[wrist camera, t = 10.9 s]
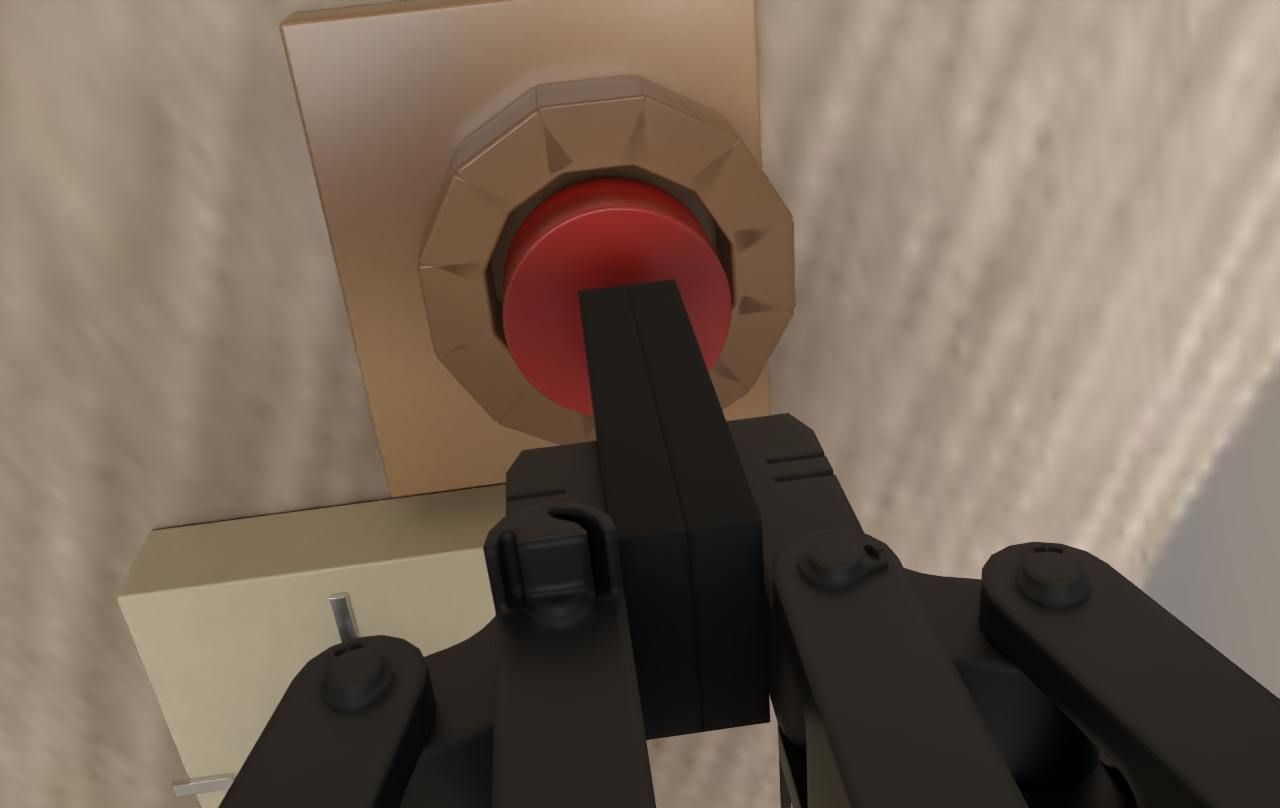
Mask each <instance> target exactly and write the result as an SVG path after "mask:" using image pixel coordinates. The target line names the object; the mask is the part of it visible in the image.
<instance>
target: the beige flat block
mask: <svg viewBox="0 0 1280 808" xmlns="http://www.w3.org/2000/svg"><path fill="white" fill-rule="evenodd" d="M504 517H506V484H502V485H495V486H487V487H480V488H472V489H464V490H457V491H449V492H442V493H434V494H427V495H419V496H411V497H404V498H396V499H389V500H381V501H373V502H366V503H358V504H351V505H343V506H336V507H328V508H320V509H313V510H305V511H298V512H290V513H283V514H275V515H267V516H260V517H252V518H245V519H237V520H229V521H222V522H214V523H207V524H199V525H192V526H184V527H176V528H169V529H161V530H154V531H151V532H150V534H149V535H148V537H147V539H146V541H145V543H144V545H143V547H142V549H141V551H140V553H139V555H138V557H137V559H136V561H135V563H134V565H133V566H132V568H131V570H130V572H129V574H128V576H127V578H126V580H125V582H124V584H123V586H122V588H121V590H120V592H119V594H118V596H117V601H118V603H119V606H120V608H121V611H122V613H123V616H124V618H125V621H126V623H127V626H128V628H129V630H130V633H131V635H132V638H133V640H134V643H135V645H136V648H137V650H138V653H139V655H140V658H141V660H142V663H143V665H144V668H145V670H146V673H147V675H148V678H149V680H150V683H151V685H152V688H153V690H154V693H155V695H156V698H157V700H158V702H159V705H160V707H161V710H162V712H163V715H164V717H165V720H166V722H167V725H168V727H169V730H170V732H171V735H172V737H173V740H174V742H175V745H176V747H177V750H178V752H179V755H180V757H181V760H182V762H183V765H184V767H185V770H186V772H187V774H188V777H189V779H188V780H181V781H174V782H173V783H172V786H171V787H172V790H173V792H174V795H175V797H180V796H187V795H194V794H196V797H197V799H198V802H199V804H200V807H201V808H218V807H219V805H220V803H221V802H222V800H223V798H224V797H225V795H226V793H227V791H228V790H229V788H230V786H231V785H232V783H233V781H234V779H235V778H236V776H237V774H238V773H239V771H240V769H241V767H242V766H243V764H244V762H245V761H246V759H247V757H248V755H249V754H250V752H251V750H252V749H253V747H254V745H255V743H256V742H257V740H258V738H259V737H260V735H261V733H262V731H263V730H264V728H265V726H266V725H267V723H268V721H269V719H270V718H271V716H272V714H273V713H274V711H275V709H276V707H277V706H278V704H279V702H280V701H281V699H282V697H283V695H284V694H285V692H286V690H287V689H288V687H289V685H290V683H291V682H292V680H293V679H294V677H295V676H296V675H297V674H298V673H299V672H300V670H301V669H302V668H303V667H304V666H305V665H306V663H307V662H308V661H309V660H311V659H313V658H314V657H316V656H317V655H319V654H320V653H322V652H323V651H325V650H326V649H328V648H329V647H331V646H334V645H337V644H340V643H342V642H345V641H348V640H351V639H353V638H357V637H366V636H375V635H385V636H391V637H397V638H402V639H405V640H406V641H408V642H410V643H411V644H413V645H414V646H416V647H417V648H419V649H420V651H421V653H422V655H423V657H425V656H428V655H430V654H433V653H436V652H438V651H441V650H444V649H446V648H449V647H451V646H454V645H456V644H458V643H460V642H462V641H464V640H466V639H468V638H470V637H471V636H473V635H474V634H476V633H477V632H479V631H480V630H481V629H483V628H484V627H485V626H486V625H487V624H488V623H489V622H490V621H491V620H492V619H493V618H494V617H495V615H496V612H495V607H494V602H493V597H492V592H491V586H490V581H489V576H488V571H487V566H486V561H485V556H484V550H483V546H484V543H485V540H486V538H487V535H488V532H489V531H490V530H491V529H492V528H493V527H494V526H495V525H496V524H497V523H498V522H499V521H500V520H501V519H502V518H504Z"/></svg>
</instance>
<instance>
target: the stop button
mask: <svg viewBox="0 0 1280 808" xmlns="http://www.w3.org/2000/svg"><path fill="white" fill-rule="evenodd" d="M671 279H675V280H676V283H677V286H678V288H679V291H680V294H681V297H682V300H683V302H684V305H685V308H686V311H687V314H688V316H689V319H690V322H691V325H692V327H693V330H694V333H695V336H696V339H697V341H698V344H699V347H700V350H701V353H702V355H703V358H704V361H705V364H706V366H707V369H708V372H709V371H710V370H711V369H712V367H713V365H714V364H715V362H716V361H717V359H718V357H719V356H720V354H721V351H722V349H723V347H724V345H725V342H726V339H727V335H728V332H729V328H730V321H731V304H732V302H731V294H730V288H729V284H728V280H727V277H726V274H725V272H724V269H723V267H722V265H721V262H720V260H719V258H718V256H717V254H716V252H715V250H714V248H713V246H712V244H711V242H710V240H709V238H708V236H707V234H706V232H705V230H704V229H703V227H702V225H701V224H700V222H699V220H698V219H697V218H696V217H695V216H694V214H693V213H692V212H691V211H690V210H689V209H688V208H687V207H686V206H685V205H684V204H683V203H682V202H681V201H679V200H678V199H677V198H675V197H674V196H672V195H671V194H669V193H668V192H666V191H664V190H662V189H660V188H658V187H656V186H653V185H650V184H647V183H645V182H641V181H636V180H632V179H624V178H599V179H594V180H588V181H584V182H581V183H578V184H574V185H571V186H569V187H567V188H565V189H563V190H561V191H558V192H557V193H555V194H554V195H552V196H550V197H549V198H547V199H546V200H545V201H543V202H542V203H541V204H540V205H539V206H537V207H536V208H535V209H534V210H533V211H532V212H531V213H530V214H529V216H528V217H527V218H526V219H525V220H524V222H523V223H522V224H521V226H520V227H519V229H518V230H517V232H516V234H515V236H514V238H513V240H512V242H511V244H510V247H509V250H508V253H507V256H506V261H505V266H504V276H503V327H504V334H505V338H506V342H507V346H508V348H509V351H510V353H511V356H512V358H513V360H514V362H515V363H516V365H517V367H518V369H519V370H520V371H521V373H522V374H523V375H524V377H525V378H526V379H527V381H528V382H529V383H530V384H532V385H533V386H534V387H535V388H536V389H537V390H538V391H539V392H540V393H542V394H543V395H544V396H546V397H547V398H548V399H550V400H552V401H553V402H555V403H557V404H558V405H560V406H562V407H565V408H567V409H569V410H572V411H574V412H578V413H581V414H585V415H590V416H593V409H592V401H591V393H590V385H589V377H588V369H587V361H586V353H585V345H584V337H583V329H582V321H581V313H580V305H579V297H578V291H581V290H589V289H597V288H605V287H613V286H622V285H630V284H638V283H646V282H654V281H663V280H671Z"/></svg>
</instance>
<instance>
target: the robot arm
mask: <svg viewBox="0 0 1280 808" xmlns="http://www.w3.org/2000/svg"><path fill="white" fill-rule="evenodd" d="M578 297H579V305H580V313H581V321H582V329H583V337H584V345H585V353H586V361H587V369H588V377H589V385H590V393H591V401H592V409H593V417H594V425H595V433H596V441H590V442H582V443H574V444H566V445H558V446H551V447H543V448H535V449H527V450H522V451H521V453H520V454H519V455H518V457H517V458H516V460H515V461H514V463H513V464H512V465H511V467H510V468H509V470H508V471H507V473H506V517H504V518H502V519H501V520H500V521H499V522H498V523H497V524H496V525H495V526H494V527H493V528H492V529H491V530H490V531H489V532H488V535H487V538H486V540H485V543H484V546H483V550H484V556H485V561H486V566H487V571H488V576H489V581H490V586H491V592H492V597H493V602H494V607H495V612H496V615H495V617H494V618H493V619H492V620H491V621H490V622H489V623H488V624H487V625H486V626H485V627H484V628H483V629H481V630H480V631H479V632H477V633H476V634H474V635H473V636H471V637H470V638H468V639H466V640H464V641H462V642H460V643H458V644H456V645H454V646H451V647H449V648H446V649H444V650H441V651H438V652H436V653H433V654H430V655H428V656H425V657H423V655H422V653H421V651H420V649H419V648H417V647H416V646H414V645H413V644H411V643H410V642H408V641H406V640H405V639H402V638H397V637H391V636H385V635H375V636H366V637H357V638H353V639H351V640H348V641H345V642H342V643H340V644H337V645H334V646H331V647H329V648H328V649H326V650H325V651H323V652H322V653H320V654H319V655H317V656H316V657H314V658H313V659H311V660H309V661H308V662H307V663H306V665H305V666H304V667H303V668H302V669H301V670H300V672H299V673H298V674H297V675H296V676H295V677H294V679H293V680H292V682H291V683H290V685H289V687H288V689H287V690H286V692H285V694H284V695H283V697H282V699H281V701H280V702H279V704H278V706H277V707H276V709H275V711H274V713H273V714H272V716H271V718H270V719H269V721H268V723H267V725H266V726H265V728H264V730H263V731H262V733H261V735H260V737H259V738H258V740H257V742H256V743H255V745H254V747H253V749H252V750H251V752H250V754H249V755H248V757H247V759H246V761H245V762H244V764H243V766H242V767H241V769H240V771H239V773H238V774H237V776H236V778H235V779H234V781H233V783H232V785H231V786H230V788H229V790H228V791H227V793H226V795H225V797H224V798H223V800H222V802H221V803H220V805H219V807H218V808H656V803H655V797H654V790H653V783H652V776H651V770H650V763H649V756H648V750H647V743H646V740H649V739H656V738H663V737H670V736H677V735H684V734H691V733H698V732H705V731H712V730H719V729H726V728H733V727H740V726H747V725H754V724H761V723H768V722H770V704H769V694H770V698H771V701H772V704H773V708H774V711H775V714H776V718H777V721H778V739H779V766H780V794H781V808H791V802H792V806H793V808H1280V699H1279V698H1277V697H1276V696H1275V695H1274V694H1272V693H1271V692H1270V691H1269V690H1267V689H1266V688H1265V687H1263V686H1262V685H1261V684H1260V683H1258V682H1257V681H1256V680H1255V679H1253V678H1252V677H1251V676H1249V675H1248V674H1247V673H1246V672H1244V671H1243V670H1242V669H1241V668H1239V667H1238V666H1237V665H1236V664H1234V663H1233V662H1232V661H1230V660H1229V659H1228V658H1227V657H1225V656H1224V655H1223V654H1221V653H1220V652H1219V651H1218V650H1216V649H1215V648H1214V647H1213V646H1211V645H1210V644H1209V643H1208V642H1206V641H1205V640H1204V639H1203V638H1201V637H1200V636H1199V635H1197V634H1196V633H1195V632H1194V631H1192V630H1191V629H1190V628H1189V627H1187V626H1186V625H1184V624H1183V623H1182V622H1181V621H1179V620H1178V619H1177V618H1176V617H1175V616H1173V615H1172V614H1171V613H1169V612H1168V611H1167V610H1166V609H1164V608H1163V607H1162V606H1161V605H1159V604H1158V603H1157V602H1156V601H1154V600H1153V599H1152V598H1150V597H1149V596H1148V595H1147V594H1145V593H1144V592H1143V591H1142V590H1140V589H1139V588H1138V587H1137V586H1135V585H1134V584H1133V583H1131V582H1130V581H1129V580H1128V579H1126V578H1125V577H1124V576H1123V575H1121V574H1120V573H1119V572H1117V571H1116V570H1115V569H1114V568H1112V567H1111V566H1110V565H1109V564H1107V563H1106V562H1104V561H1102V560H1100V559H1099V558H1097V557H1095V556H1093V555H1092V554H1090V553H1088V552H1086V551H1083V550H1080V549H1076V548H1073V547H1070V546H1066V545H1063V544H1057V543H1043V542H1030V543H1024V544H1017V545H1011V546H1008V547H1006V548H1004V549H1003V550H1001V551H999V552H997V553H995V554H993V555H991V557H990V558H989V560H988V561H987V562H986V564H985V565H984V567H983V568H982V579H981V580H980V579H967V578H955V577H942V576H935V575H929V574H922V573H919V572H916V571H912V570H909V569H906V568H903V566H902V564H901V562H900V560H899V558H898V557H897V556H896V555H895V554H894V552H893V551H892V550H891V549H890V548H889V547H888V546H887V545H886V544H885V543H883V542H881V541H879V540H877V539H875V538H873V537H871V536H869V535H868V534H865V533H864V531H863V529H862V527H861V525H860V523H859V521H858V519H857V517H856V515H855V513H854V511H853V509H852V507H851V505H850V503H849V501H848V499H847V497H846V495H845V493H844V491H843V489H842V487H841V485H840V483H839V481H838V479H837V477H836V475H834V474H833V469H832V467H831V465H830V463H829V461H828V459H827V457H825V456H824V451H823V449H822V447H821V445H820V443H819V441H818V439H817V437H816V435H815V433H814V431H813V430H812V429H810V428H809V427H807V426H806V425H805V424H803V423H802V422H800V421H799V420H797V419H796V418H794V417H793V416H791V415H790V414H789V413H786V414H778V415H770V416H762V417H755V418H747V419H739V420H731V421H726V419H725V417H724V414H723V411H722V408H721V405H720V403H719V400H718V397H717V394H716V391H715V389H714V386H713V383H712V380H711V378H710V375H709V372H708V369H707V366H706V364H705V361H704V358H703V355H702V353H701V350H700V347H699V344H698V341H697V339H696V336H695V333H694V330H693V327H692V325H691V322H690V319H689V316H688V314H687V311H686V308H685V305H684V302H683V300H682V297H681V294H680V291H679V288H678V286H677V283H676V280H675V279H671V280H663V281H654V282H646V283H638V284H630V285H622V286H613V287H605V288H597V289H589V290H581V291H578Z"/></svg>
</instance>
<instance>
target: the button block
mask: <svg viewBox="0 0 1280 808" xmlns="http://www.w3.org/2000/svg"><path fill="white" fill-rule="evenodd" d="M280 32H281V36H282V40H283V44H284V49H285V53H286V57H287V61H288V65H289V70H290V74H291V78H292V82H293V87H294V91H295V95H296V99H297V103H298V108H299V112H300V116H301V120H302V125H303V129H304V133H305V137H306V141H307V146H308V150H309V154H310V158H311V163H312V167H313V171H314V175H315V179H316V184H317V188H318V192H319V196H320V200H321V205H322V209H323V213H324V217H325V222H326V226H327V230H328V234H329V238H330V243H331V247H332V251H333V255H334V260H335V264H336V268H337V272H338V276H339V281H340V285H341V289H342V293H343V298H344V302H345V306H346V310H347V314H348V319H349V323H350V327H351V331H352V336H353V340H354V344H355V348H356V352H357V357H358V361H359V365H360V369H361V374H362V378H363V382H364V386H365V390H366V395H367V399H368V403H369V407H370V412H371V416H372V420H373V424H374V428H375V433H376V437H377V441H378V445H379V450H380V454H381V458H382V462H383V466H384V471H385V475H386V479H387V483H388V488H389V492H390V495H391V496H392V497H401V496H409V495H416V494H424V493H431V492H439V491H447V490H454V489H462V488H469V487H477V486H484V485H492V484H500V483H506V473H507V471H508V470H509V468H510V467H511V465H512V464H513V463H514V461H515V460H516V458H517V457H518V455H519V454H520V453H521V451H522V450H527V449H535V448H543V447H551V446H558V445H566V444H574V443H582V442H590V441H596V433H595V425H594V417H593V416H590V415H585V414H581V413H578V412H574V411H572V410H569V409H567V408H565V407H562V406H560V405H558V404H557V403H555V402H553V401H552V400H550V399H548V398H547V397H546V396H544V395H543V394H542V393H540V392H539V391H538V390H537V389H536V388H535V387H534V386H533V385H532V384H530V383H529V382H528V381H527V379H526V378H525V377H524V375H523V374H522V373H521V371H520V370H519V369H518V367H517V365H516V363H515V362H514V360H513V358H512V356H511V353H510V351H509V348H508V346H507V342H506V338H505V334H504V327H503V276H504V266H505V261H506V256H507V253H508V250H509V247H510V244H511V242H512V240H513V238H514V236H515V234H516V232H517V230H518V229H519V227H520V226H521V224H522V223H523V222H524V220H525V219H526V218H527V217H528V216H529V214H530V213H531V212H532V211H533V210H534V209H535V208H536V207H537V206H539V205H540V204H541V203H542V202H543V201H545V200H546V199H547V198H549V197H550V196H552V195H554V194H555V193H557V192H558V191H561V190H563V189H565V188H567V187H569V186H571V185H574V184H578V183H581V182H584V181H588V180H594V179H599V178H624V179H632V180H636V181H641V182H645V183H647V184H650V185H653V186H656V187H658V188H660V189H662V190H664V191H666V192H668V193H669V194H671V195H672V196H674V197H675V198H677V199H678V200H679V201H681V202H682V203H683V204H684V205H685V206H686V207H687V208H688V209H689V210H690V211H691V212H692V213H693V214H694V216H695V217H696V218H697V219H698V220H699V222H700V224H701V225H702V227H703V229H704V230H705V232H706V234H707V236H708V238H709V240H710V242H711V244H712V246H713V248H714V250H715V252H716V254H717V256H718V258H719V260H720V262H721V265H722V267H723V269H724V272H725V274H726V277H727V280H728V284H729V288H730V294H731V302H732V304H731V321H730V328H729V332H728V335H727V339H726V342H725V345H724V347H723V349H722V351H721V354H720V356H719V357H718V359H717V361H716V362H715V364H714V365H713V367H712V369H711V370H710V371H709V375H710V378H711V380H712V383H713V386H714V389H715V391H716V394H717V397H718V400H719V403H720V405H721V408H722V411H723V414H724V417H725V419H726V421H731V420H739V419H747V418H755V417H762V416H770V387H769V357H770V356H771V354H772V352H773V350H774V348H775V346H776V345H777V343H778V341H779V339H780V337H781V336H782V334H783V332H784V330H785V328H786V327H787V325H788V323H789V321H790V319H791V318H792V316H793V314H794V308H795V265H794V222H793V220H792V219H793V216H792V214H791V213H790V211H789V210H788V208H787V207H786V205H785V204H784V202H783V201H782V199H781V198H780V196H779V195H778V193H777V192H776V190H775V189H774V187H773V186H772V184H771V183H770V181H769V180H768V178H767V177H766V175H765V174H764V172H763V171H762V160H761V132H760V104H759V76H758V47H757V19H756V0H409V1H400V2H390V3H381V4H372V5H363V6H353V7H344V8H335V9H326V10H316V11H307V12H298V13H293V14H291V15H290V16H288V17H287V18H286V19H285V20H284V21H282V22H281V23H280Z"/></svg>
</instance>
